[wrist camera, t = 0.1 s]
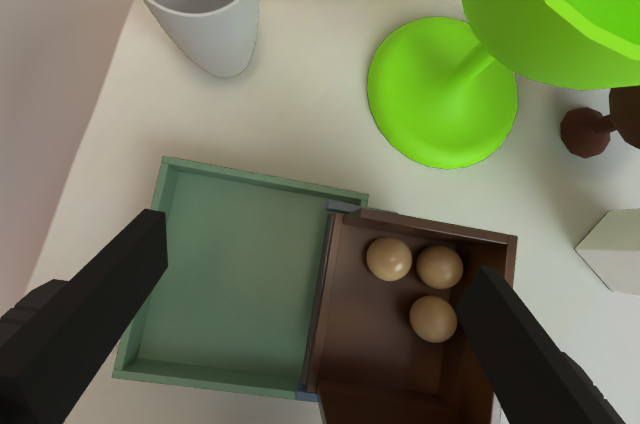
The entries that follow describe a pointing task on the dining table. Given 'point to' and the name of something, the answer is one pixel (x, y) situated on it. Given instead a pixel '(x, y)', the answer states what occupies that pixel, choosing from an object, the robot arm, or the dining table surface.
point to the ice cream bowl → (603, 123)
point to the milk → (615, 250)
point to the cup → (211, 31)
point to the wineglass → (493, 70)
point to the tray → (231, 281)
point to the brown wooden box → (395, 327)
